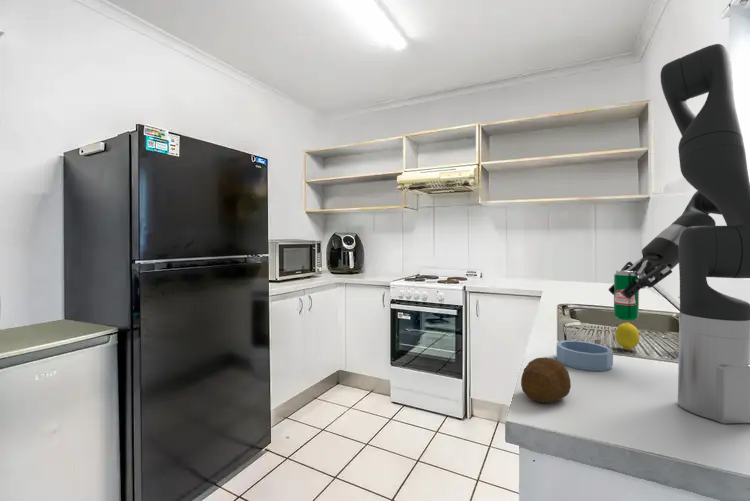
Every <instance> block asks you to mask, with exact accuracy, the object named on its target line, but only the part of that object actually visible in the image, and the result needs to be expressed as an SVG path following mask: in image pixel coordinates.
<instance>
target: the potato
mask: <svg viewBox="0 0 750 501" xmlns="http://www.w3.org/2000/svg"><path fill="white" fill-rule="evenodd" d="M565 366H566V365H563V364H561V363H560V362H558V361H557V359H555V358H549V357H546V356H545V357H537V358H535V359H532V360H530V361H529V362H528V364H526V366H525V368H524V369H523V372H522V374H521V379H520V384H521V390H522V391H523V393H524V394H525V395H526V397H527V398H528V399H530V400H531V401H533V402H537V403H542V404H545V403H547V404H548V403H554V402H557V401H559V400H562V399H563V398H565V397H567V396H568V394H570V391H571V386H572V384H571V383H572V382H571V378H570V374H569V371H568V370H567V368H566V367H565Z"/></svg>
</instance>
